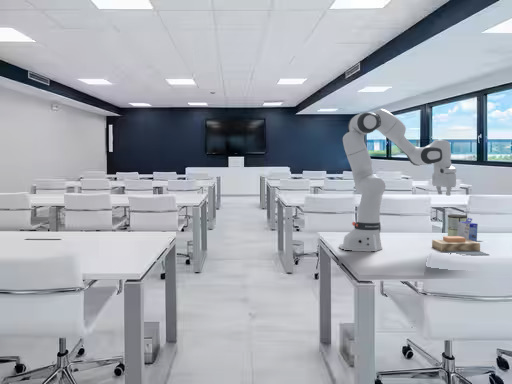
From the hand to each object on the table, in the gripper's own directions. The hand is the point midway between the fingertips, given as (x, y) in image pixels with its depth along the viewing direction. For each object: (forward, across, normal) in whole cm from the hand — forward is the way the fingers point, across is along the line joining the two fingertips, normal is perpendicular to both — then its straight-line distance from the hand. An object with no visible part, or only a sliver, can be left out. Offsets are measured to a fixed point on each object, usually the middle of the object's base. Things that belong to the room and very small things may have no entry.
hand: (444, 194), depth 227 cm
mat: (+28, +18, +1) cm, 34 cm away
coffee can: (+30, -22, +17) cm, 40 cm away
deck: (+28, +8, +1) cm, 29 cm away
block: (+24, +6, +1) cm, 25 cm away
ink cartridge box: (+29, -5, +14) cm, 33 cm away
